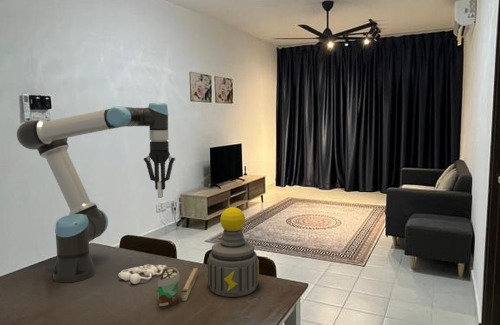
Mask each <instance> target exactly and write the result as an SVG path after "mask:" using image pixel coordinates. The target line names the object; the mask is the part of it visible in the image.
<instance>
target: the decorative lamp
mask: <svg viewBox="0 0 500 325" xmlns="http://www.w3.org/2000/svg"><path fill="white" fill-rule="evenodd" d="M219 222H220V225H221V227H222V229H223V234H222V236H221V240H220V241H218V242H216V243H214V244H213V245H212V246H211V252H210V253H209V254H208V255H209V256H208V258H207V261H206V266H207V268H206V269H207V270H206V277H207V284H208V286H209V290H210V291H211V292H212V293H213V294H216V295H218V296H222V297H224V298H225V297H228V298H236V297H239V298H240V297H243V296H247V295H249V294H251V293H253V292H254V291H255V290H256V289H257V286H258V285H259V278H260V277H259V275H260V274H259V273H260V272H259V271H260V270H259V269H260V268H259V267H260V266H259V265H260V264H259V258H258V255H257V253H256V251H255V246H254V244H252V243H251V242H249V241H246V240H245V238H244V234H243V230H242V229H243V227H244V226H245V224H246V216H245V214H244V212H243V210H241V209H240V208H238V207H235V206H231V207H228V208H226V209H224V210H223V212H222V213H221V215H220V221H219Z"/></svg>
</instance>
